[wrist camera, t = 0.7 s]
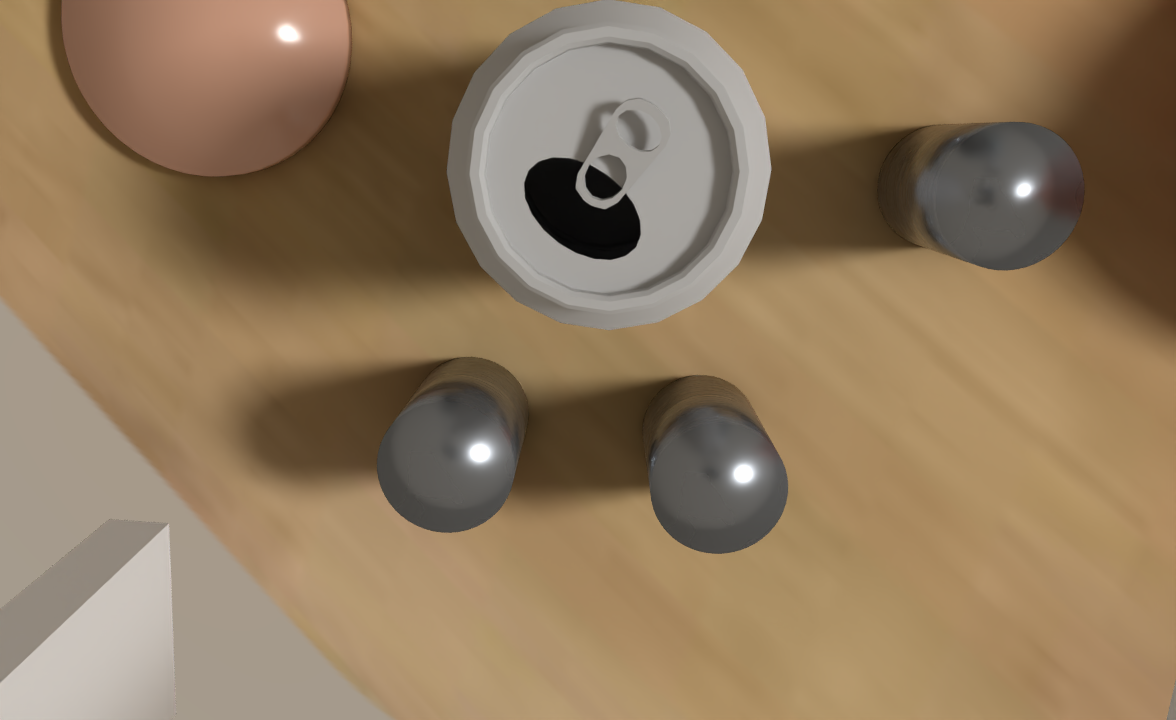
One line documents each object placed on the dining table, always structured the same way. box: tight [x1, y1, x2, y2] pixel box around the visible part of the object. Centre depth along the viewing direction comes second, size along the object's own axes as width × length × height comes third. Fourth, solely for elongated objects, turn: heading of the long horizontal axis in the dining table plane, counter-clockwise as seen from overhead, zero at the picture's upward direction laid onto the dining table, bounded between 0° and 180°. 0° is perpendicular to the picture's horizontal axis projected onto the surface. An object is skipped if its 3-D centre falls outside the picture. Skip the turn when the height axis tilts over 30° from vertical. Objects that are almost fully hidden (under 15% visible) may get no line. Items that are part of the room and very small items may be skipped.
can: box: [447, 0, 771, 330], centre depth 27 cm, size 8×8×12 cm
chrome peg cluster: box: [377, 122, 1084, 554], centre depth 30 cm, size 22×19×6 cm
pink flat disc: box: [61, 0, 352, 176], centre depth 32 cm, size 9×9×1 cm
